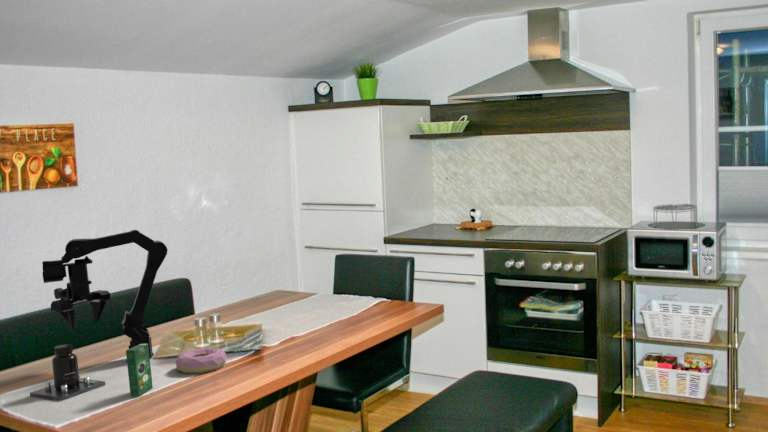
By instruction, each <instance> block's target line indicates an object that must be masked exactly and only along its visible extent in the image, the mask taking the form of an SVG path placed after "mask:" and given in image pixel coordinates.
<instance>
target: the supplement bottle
mask: <svg viewBox="0 0 768 432" xmlns="http://www.w3.org/2000/svg"><path fill="white" fill-rule="evenodd" d="M73 352H74V349H73V345H72V344H71V343H70V344H61V345H60V344H59V345H56V346H54V354H55V356H54V357H52V360H51V365H52V375H53V385H55V388H56V389H57V390H61V385H67V388H68V389H72V388H75V387H77V386H79V384H80V381H79V378H80V372H79V363H78V362H79V361H78V356H77V354H75V353H73Z"/></svg>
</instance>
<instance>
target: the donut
mask: <svg viewBox="0 0 768 432" xmlns="http://www.w3.org/2000/svg"><path fill="white" fill-rule="evenodd" d="M175 359H176V360H175V365H176V366H175V367H176V369H177V370H178V371H180V372H182V373H185V374H203V373H209V372H212V371H215V370H218V369H221V368H222V367H224V365H225V364H226V362H227V359H228V357H227V354H226V352H225V351H224V350H223V349H222V348H217V347H201V348H196V349H195V348H194V349H190V350H187V351H184V352H182V353H181V354H179V355H178V356H177V357H176V358H175Z"/></svg>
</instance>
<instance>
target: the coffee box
mask: <svg viewBox="0 0 768 432" xmlns="http://www.w3.org/2000/svg"><path fill="white" fill-rule="evenodd" d="M125 354H126V356H125V357H126V364H127V376H128V383H129V393H130V397H131V398H132V397H134V398H136V397H137V398H138V397H140V396H142V395H143V394H145V393H147V391H150V390H151V389H153V388H154V387H153V378H152V370H151V359H150V357H149V348H148V344H139V345H137V346H135V347H132V348H130V349H129V348H128V349H127V350H125Z"/></svg>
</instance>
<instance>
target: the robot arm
mask: <svg viewBox="0 0 768 432" xmlns="http://www.w3.org/2000/svg"><path fill="white" fill-rule="evenodd" d="M133 243H134V244H136V245H137V246H139V247H141V248H142V249H144V250H145V251H147V256H146V263H145V269H144V272H143V275H142V277H141V281H140V284H139V287H138V290H137V293H136V296H135V300H134V303H133V305H132V308H131V309H130V310H129V311H128V310H125V312H124V317H123V319H122V321H121V325H122V329H123V333H124V335H125V336H127V337H128V338H130V340H129V345H128V349H130V348H132V347H135V346H137V345H139V344H148V348H149V357H150V360H151V359H152V358H153V357H154V356H155V353H154V352H153V346H152V345H153V344H152V337H151V336H150V335H151V334H150V332H149V329H148V328H146V327H145V326H144V317H145V309H146V307H147V304H148V302H149V301H148V300H149V298H150V294H151V291H152V289H153V286H154V282H155V279H156V277H157V274H158V273H157V272H158V271H159V269H160V267H161V266H162V265H163V262H164V260H165V258H166V257H167V255H168V248H167V245H166V243H164V241H161V240H154V239H152V238H151V237H149V236H146V235H145V234H143V233H142V232H140V230H138V229H132V230H130V231H124V232H121V233H115V234H111V235H106V236H102V237H96V238H72V239H71V240H69V241H68V242H67V243H66V245H65V249H64V250H65V253H64V254H63V255H62V256H61V258H60V259H57V260H43V261H42V263H41V264H42V281H43V283H44V284H47V283H55V282H56V283H57V282H63V281H64V279H65V278H67V274H68V280H69V282H67V283H66V288H62V287H57V288H55V289H54V290H53V295H54V298H55V300H53V301H51V304H50V311H54V312H55V313H59V314H60V315H61V316H62V317H63V320H64V321H65V323H66V324H67V327H68V328H69V330H70V331H74V329H75V309H73V307H74V306H75V305H80V304H85V303H87V302H89V304H90V305H91V307H92V316H93V322H94V324H96V325H98V324H99V321H100V318H101V315H102V313H103V310H104V308H105V307H106V304H107V303H108V302H109V301H108V300H111V293H110V292H109V290H103V289H102V290H100V289H98V290H95V291H91V290H90V285H92V282H93V281H92V280H89V271H88V265H89V264H93V260H92V259H91V258H89V256H88V255H89V254H92V253H93V252H96V251H101V250H105V249H111V248H114V247H118V246H123V245H128V244H133ZM84 256H85V257H84ZM82 257H84V258H82ZM73 259H74V262H70V261H73ZM66 267H67V268H66ZM90 291H91V292H90ZM127 337H126V338H127Z"/></svg>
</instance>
